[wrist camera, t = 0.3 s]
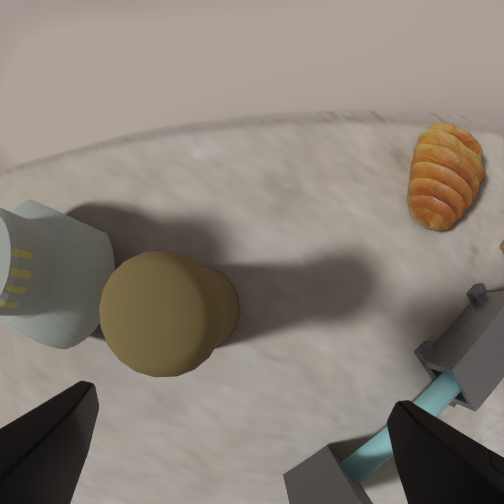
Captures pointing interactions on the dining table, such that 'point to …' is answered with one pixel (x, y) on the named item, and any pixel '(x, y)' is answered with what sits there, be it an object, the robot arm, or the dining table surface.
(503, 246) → the socket block
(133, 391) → the dining table surface
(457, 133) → the pastry
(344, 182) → the dining table surface
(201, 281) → the cork
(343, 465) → the tube
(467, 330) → the sleeve
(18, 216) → the air freshener
